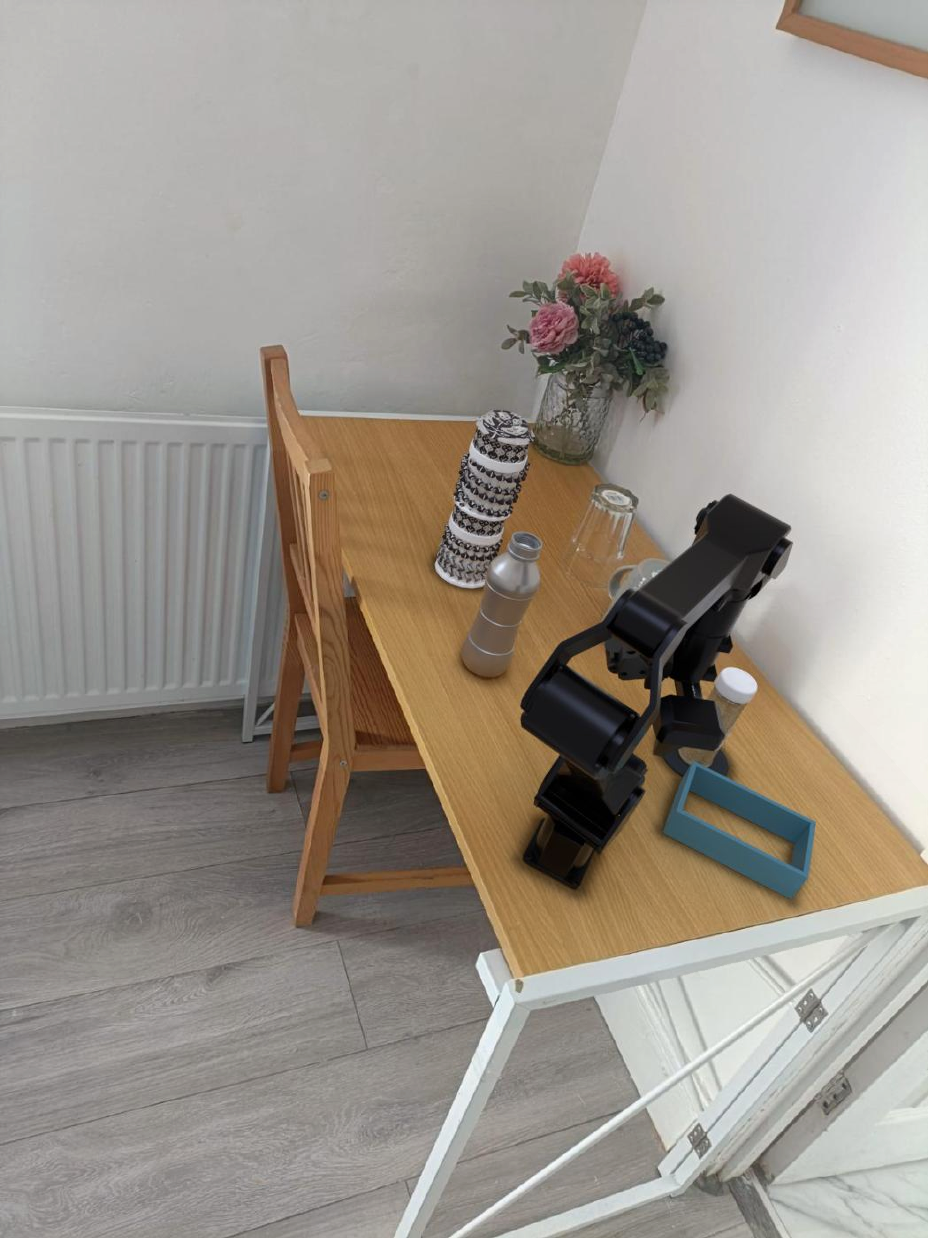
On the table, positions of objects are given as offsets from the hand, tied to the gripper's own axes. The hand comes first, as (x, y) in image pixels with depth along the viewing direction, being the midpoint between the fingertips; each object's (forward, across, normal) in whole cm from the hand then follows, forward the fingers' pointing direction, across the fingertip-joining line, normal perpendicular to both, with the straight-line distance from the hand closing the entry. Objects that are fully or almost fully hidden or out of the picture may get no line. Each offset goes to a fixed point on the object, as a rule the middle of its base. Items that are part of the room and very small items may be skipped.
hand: (652, 720), depth 94 cm
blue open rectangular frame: (+13, +4, +13) cm, 19 cm away
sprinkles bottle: (+14, -8, +11) cm, 19 cm away
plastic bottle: (+13, -17, -17) cm, 27 cm away
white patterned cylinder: (+15, -37, -20) cm, 45 cm away
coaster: (+14, -8, +11) cm, 20 cm away
